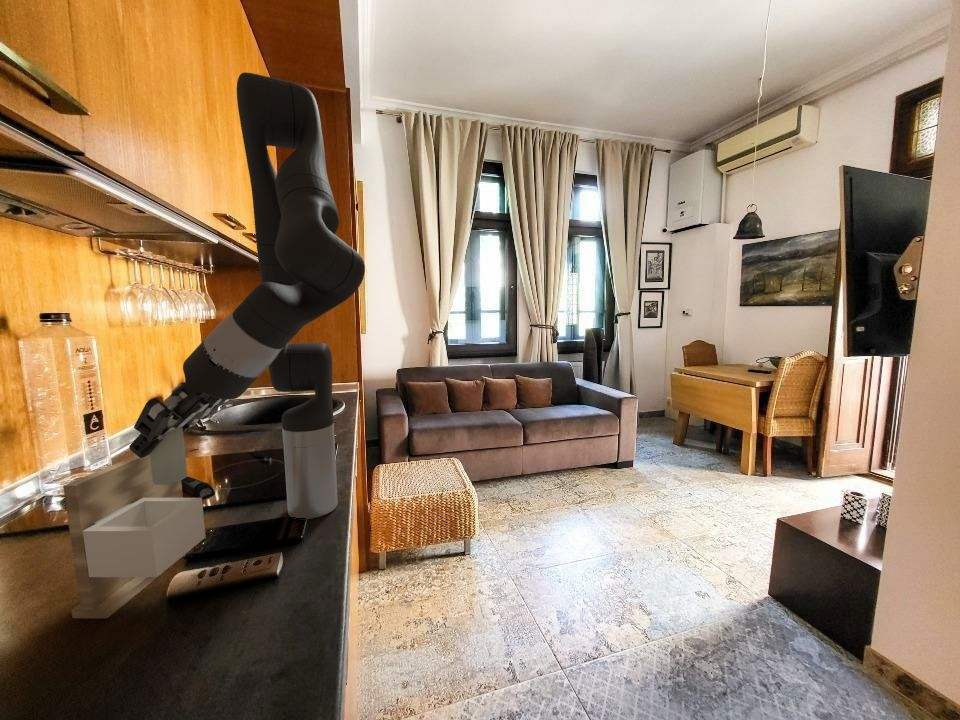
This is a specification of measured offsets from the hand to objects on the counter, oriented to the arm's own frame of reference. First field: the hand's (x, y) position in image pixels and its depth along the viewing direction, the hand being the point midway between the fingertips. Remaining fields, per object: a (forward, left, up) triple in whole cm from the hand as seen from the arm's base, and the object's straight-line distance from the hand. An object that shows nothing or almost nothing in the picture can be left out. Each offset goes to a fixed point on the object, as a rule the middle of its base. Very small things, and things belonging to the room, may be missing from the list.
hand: (151, 446), depth 50 cm
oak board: (-4, -7, -22) cm, 23 cm away
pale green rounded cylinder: (0, +2, -5) cm, 5 cm away
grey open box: (0, -2, -16) cm, 16 cm away
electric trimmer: (-32, -21, -22) cm, 44 cm away
